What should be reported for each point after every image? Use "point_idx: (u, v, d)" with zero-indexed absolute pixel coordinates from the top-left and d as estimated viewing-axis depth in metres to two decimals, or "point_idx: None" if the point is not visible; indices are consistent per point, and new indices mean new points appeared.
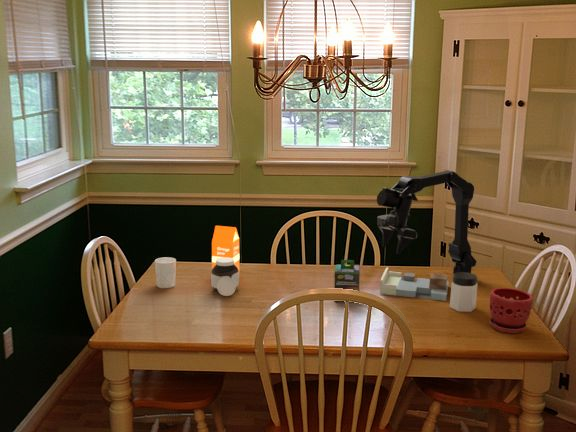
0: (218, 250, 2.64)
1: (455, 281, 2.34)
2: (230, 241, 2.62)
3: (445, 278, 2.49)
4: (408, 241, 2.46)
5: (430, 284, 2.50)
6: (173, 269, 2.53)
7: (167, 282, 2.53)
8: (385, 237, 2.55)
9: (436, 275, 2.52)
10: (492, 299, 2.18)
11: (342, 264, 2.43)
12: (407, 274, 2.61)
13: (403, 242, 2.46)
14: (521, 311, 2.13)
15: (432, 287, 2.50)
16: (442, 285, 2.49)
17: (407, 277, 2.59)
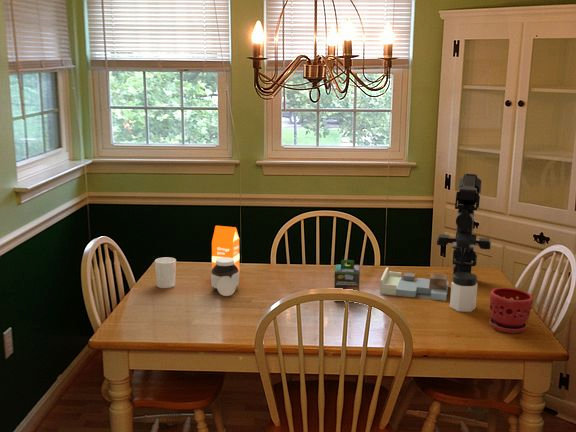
0: (218, 250, 2.64)
1: (455, 281, 2.34)
2: (230, 241, 2.62)
3: (445, 278, 2.49)
4: None
5: (430, 284, 2.50)
6: (173, 269, 2.53)
7: (167, 282, 2.53)
8: (461, 254, 2.47)
9: (436, 275, 2.52)
10: (492, 299, 2.18)
11: (342, 264, 2.43)
12: (407, 274, 2.61)
13: None
14: (521, 311, 2.13)
15: (432, 287, 2.50)
16: (442, 285, 2.49)
17: (407, 277, 2.59)
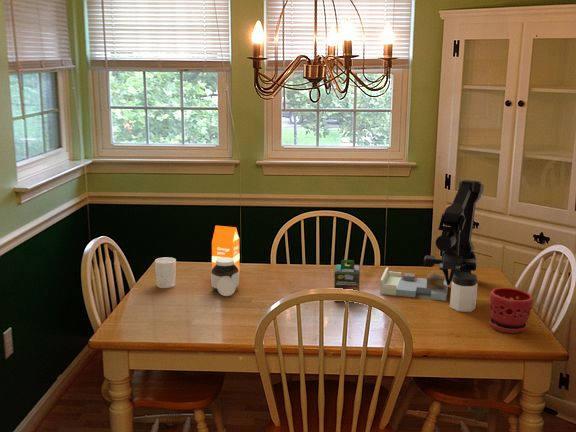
0: (218, 250, 2.64)
1: (455, 281, 2.34)
2: (230, 241, 2.62)
3: (442, 278, 2.49)
4: None
5: (427, 284, 2.50)
6: (173, 269, 2.53)
7: (167, 282, 2.53)
8: (448, 275, 2.50)
9: (433, 275, 2.52)
10: (492, 299, 2.18)
11: (342, 264, 2.43)
12: (407, 274, 2.61)
13: None
14: (521, 311, 2.13)
15: (429, 287, 2.50)
16: (439, 285, 2.49)
17: (407, 277, 2.59)
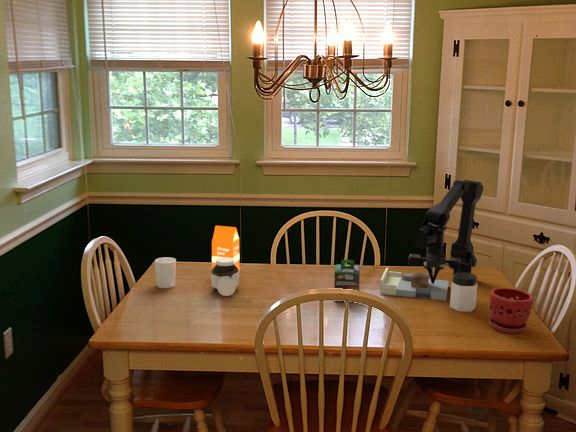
0: (218, 250, 2.64)
1: (455, 281, 2.34)
2: (230, 241, 2.62)
3: (427, 276, 2.51)
4: None
5: (412, 282, 2.51)
6: (173, 269, 2.53)
7: (167, 282, 2.53)
8: (432, 274, 2.52)
9: (418, 274, 2.54)
10: (492, 299, 2.18)
11: (342, 264, 2.43)
12: (407, 274, 2.61)
13: None
14: (521, 311, 2.13)
15: (414, 285, 2.52)
16: (423, 283, 2.50)
17: (407, 277, 2.59)
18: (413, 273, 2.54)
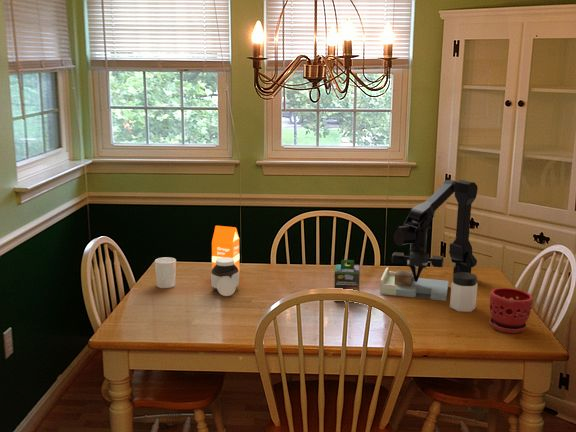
0: (218, 250, 2.64)
1: (455, 281, 2.34)
2: (230, 241, 2.62)
3: (410, 275, 2.52)
4: None
5: (395, 281, 2.53)
6: (173, 269, 2.53)
7: (167, 282, 2.53)
8: (415, 272, 2.53)
9: (401, 272, 2.55)
10: (492, 299, 2.18)
11: (342, 264, 2.43)
12: None
13: None
14: (521, 311, 2.13)
15: (397, 284, 2.53)
16: (407, 282, 2.52)
17: None
18: (397, 271, 2.56)
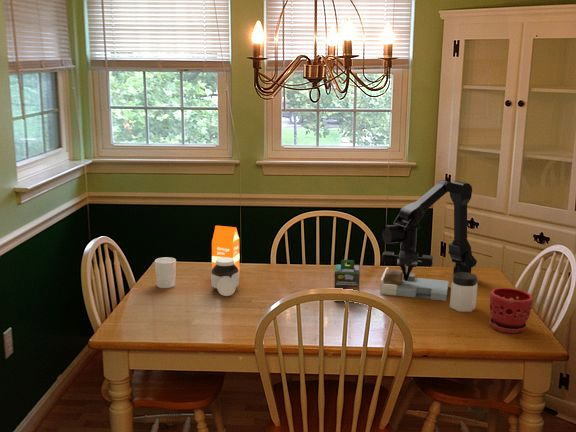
0: (218, 250, 2.64)
1: (455, 281, 2.34)
2: (230, 241, 2.62)
3: (400, 274, 2.53)
4: None
5: (385, 280, 2.54)
6: (173, 269, 2.53)
7: (167, 282, 2.53)
8: (405, 271, 2.54)
9: (391, 271, 2.56)
10: (492, 299, 2.18)
11: (342, 264, 2.43)
12: None
13: None
14: (521, 311, 2.13)
15: (387, 283, 2.54)
16: (397, 281, 2.53)
17: None
18: (387, 271, 2.57)
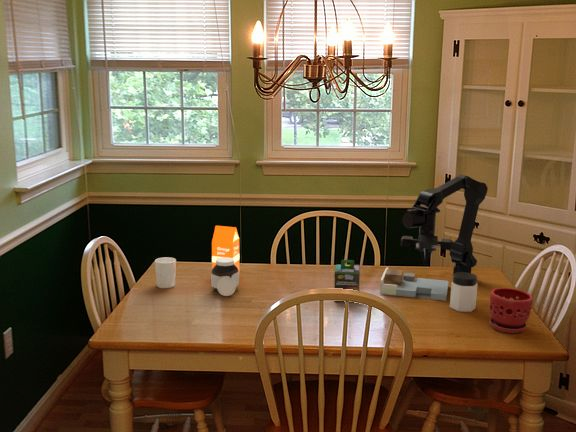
0: (218, 250, 2.64)
1: (455, 281, 2.34)
2: (230, 241, 2.62)
3: (400, 274, 2.53)
4: None
5: (385, 280, 2.54)
6: (173, 269, 2.53)
7: (167, 282, 2.53)
8: (424, 255, 2.55)
9: (391, 271, 2.56)
10: (492, 299, 2.18)
11: (342, 264, 2.43)
12: (407, 274, 2.61)
13: None
14: (521, 311, 2.13)
15: (387, 283, 2.54)
16: (397, 281, 2.53)
17: (407, 277, 2.59)
18: (387, 271, 2.57)
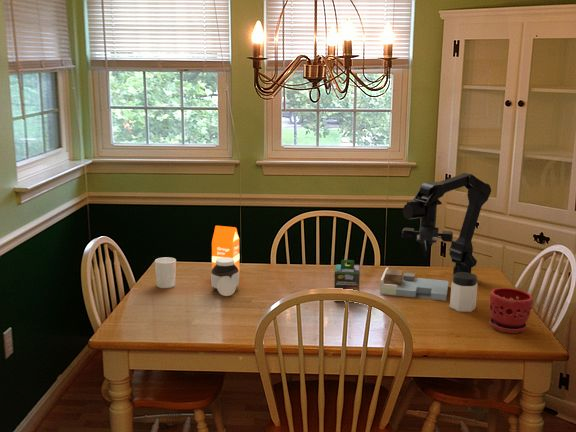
0: (218, 250, 2.64)
1: (455, 281, 2.34)
2: (230, 241, 2.62)
3: (400, 274, 2.53)
4: None
5: (385, 280, 2.54)
6: (173, 269, 2.53)
7: (167, 282, 2.53)
8: (425, 247, 2.56)
9: (391, 271, 2.56)
10: (492, 299, 2.18)
11: (342, 264, 2.43)
12: (407, 274, 2.61)
13: None
14: (521, 311, 2.13)
15: (387, 283, 2.54)
16: (397, 281, 2.53)
17: (407, 277, 2.59)
18: (387, 271, 2.57)
